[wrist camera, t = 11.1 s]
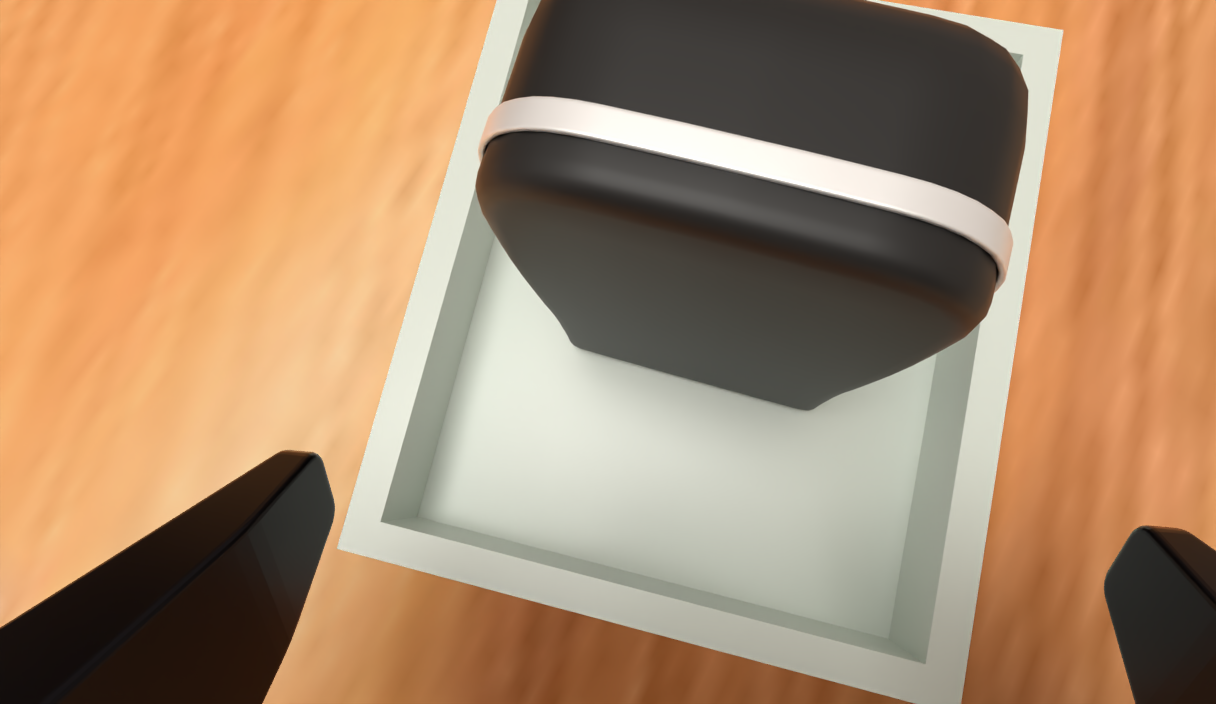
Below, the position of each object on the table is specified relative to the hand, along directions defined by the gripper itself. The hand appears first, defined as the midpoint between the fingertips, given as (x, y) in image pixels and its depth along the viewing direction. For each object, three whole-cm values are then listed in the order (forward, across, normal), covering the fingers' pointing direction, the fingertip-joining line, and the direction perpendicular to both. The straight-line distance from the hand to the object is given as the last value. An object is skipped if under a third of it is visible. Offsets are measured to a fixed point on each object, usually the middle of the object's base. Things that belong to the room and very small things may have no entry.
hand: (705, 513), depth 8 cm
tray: (+12, 0, +4) cm, 12 cm away
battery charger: (+11, 0, +4) cm, 12 cm away
